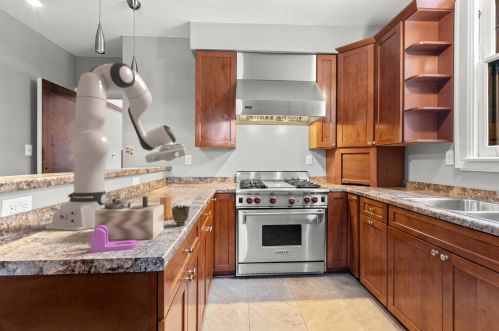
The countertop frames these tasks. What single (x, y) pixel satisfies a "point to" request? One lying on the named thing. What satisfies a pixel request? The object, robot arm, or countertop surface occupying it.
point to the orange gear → (167, 207)
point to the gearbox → (131, 219)
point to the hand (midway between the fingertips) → (164, 158)
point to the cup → (180, 214)
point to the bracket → (102, 244)
